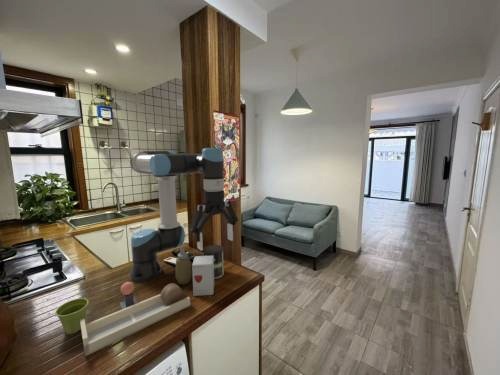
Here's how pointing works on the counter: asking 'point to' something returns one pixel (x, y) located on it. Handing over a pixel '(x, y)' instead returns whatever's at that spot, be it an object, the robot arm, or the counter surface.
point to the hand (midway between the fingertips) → (216, 244)
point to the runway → (126, 322)
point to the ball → (127, 288)
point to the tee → (128, 301)
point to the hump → (172, 294)
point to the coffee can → (216, 259)
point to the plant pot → (72, 314)
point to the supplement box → (203, 275)
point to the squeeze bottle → (183, 268)
